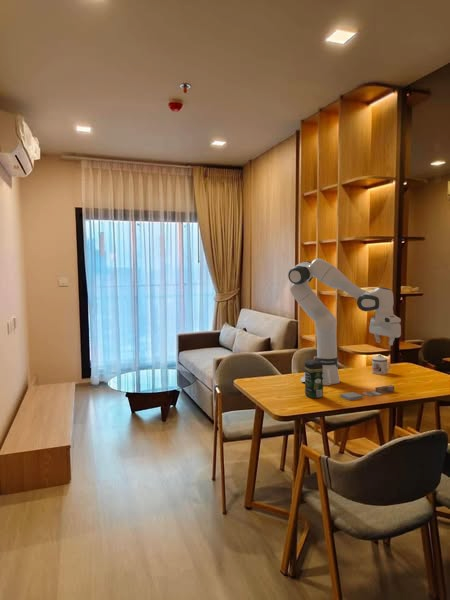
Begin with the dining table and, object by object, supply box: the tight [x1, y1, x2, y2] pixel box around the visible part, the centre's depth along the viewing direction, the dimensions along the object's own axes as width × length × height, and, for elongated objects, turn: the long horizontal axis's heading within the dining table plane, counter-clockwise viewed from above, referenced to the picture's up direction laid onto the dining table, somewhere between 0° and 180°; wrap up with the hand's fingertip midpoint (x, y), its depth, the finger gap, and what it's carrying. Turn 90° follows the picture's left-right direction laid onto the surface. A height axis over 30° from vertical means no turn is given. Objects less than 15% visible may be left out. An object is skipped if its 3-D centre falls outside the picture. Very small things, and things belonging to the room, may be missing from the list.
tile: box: [340, 391, 364, 402], centre depth 203 cm, size 2×7×8 cm
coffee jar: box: [304, 359, 324, 399], centre depth 207 cm, size 10×8×19 cm
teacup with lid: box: [371, 353, 391, 376], centre depth 250 cm, size 12×9×12 cm
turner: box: [361, 384, 395, 398], centre depth 210 cm, size 17×6×3 cm, turn 111°
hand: (384, 343), depth 215 cm, fingers open, 8 cm apart
